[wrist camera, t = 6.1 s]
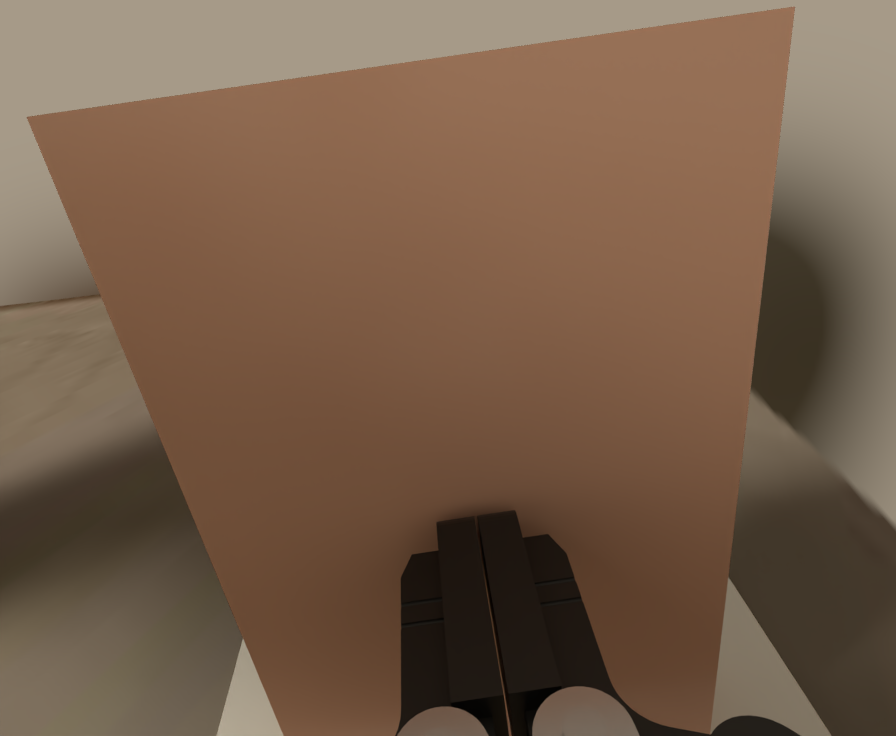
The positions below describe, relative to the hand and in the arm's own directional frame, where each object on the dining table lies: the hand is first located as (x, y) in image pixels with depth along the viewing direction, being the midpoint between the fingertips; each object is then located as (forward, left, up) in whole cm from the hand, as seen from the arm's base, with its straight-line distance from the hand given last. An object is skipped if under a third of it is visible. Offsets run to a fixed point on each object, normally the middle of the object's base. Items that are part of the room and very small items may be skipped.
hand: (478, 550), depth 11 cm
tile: (-1, +1, -8) cm, 8 cm away
